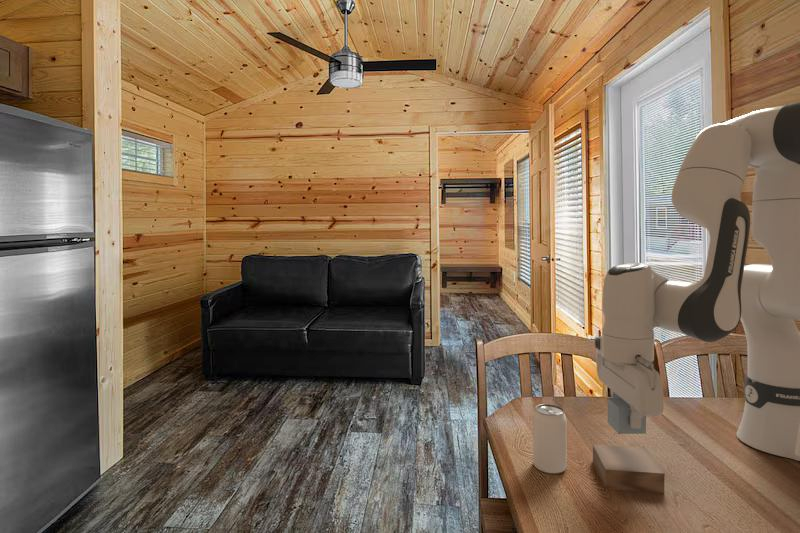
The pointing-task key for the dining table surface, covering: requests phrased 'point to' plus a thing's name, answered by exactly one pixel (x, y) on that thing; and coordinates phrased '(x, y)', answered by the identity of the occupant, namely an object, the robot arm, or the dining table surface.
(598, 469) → the walnut block
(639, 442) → the dining table surface
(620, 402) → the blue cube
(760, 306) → the robot arm
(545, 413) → the can
